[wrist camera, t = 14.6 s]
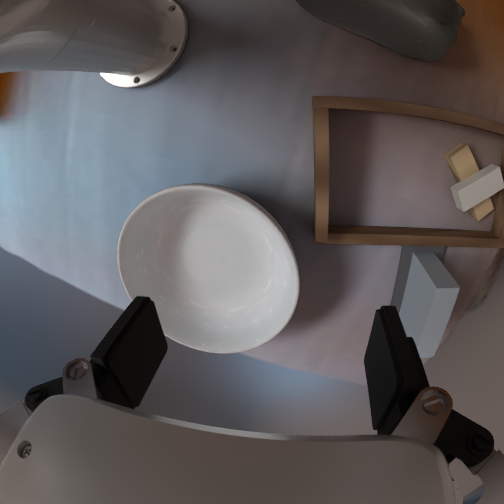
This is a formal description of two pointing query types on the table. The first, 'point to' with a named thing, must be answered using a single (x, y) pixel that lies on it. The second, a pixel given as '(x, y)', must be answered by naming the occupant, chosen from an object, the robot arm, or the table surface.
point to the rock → (396, 23)
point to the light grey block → (427, 302)
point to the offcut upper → (477, 187)
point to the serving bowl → (210, 267)
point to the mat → (405, 267)
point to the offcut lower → (467, 175)
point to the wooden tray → (499, 236)
